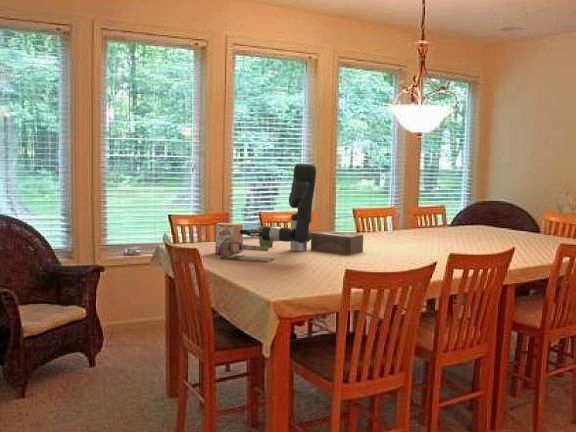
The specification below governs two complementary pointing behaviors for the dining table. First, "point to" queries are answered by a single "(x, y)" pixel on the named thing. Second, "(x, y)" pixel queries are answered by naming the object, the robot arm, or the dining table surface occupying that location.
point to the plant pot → (264, 243)
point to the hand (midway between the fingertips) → (240, 231)
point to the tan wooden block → (237, 238)
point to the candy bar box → (223, 236)
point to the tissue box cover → (337, 242)
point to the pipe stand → (228, 255)
